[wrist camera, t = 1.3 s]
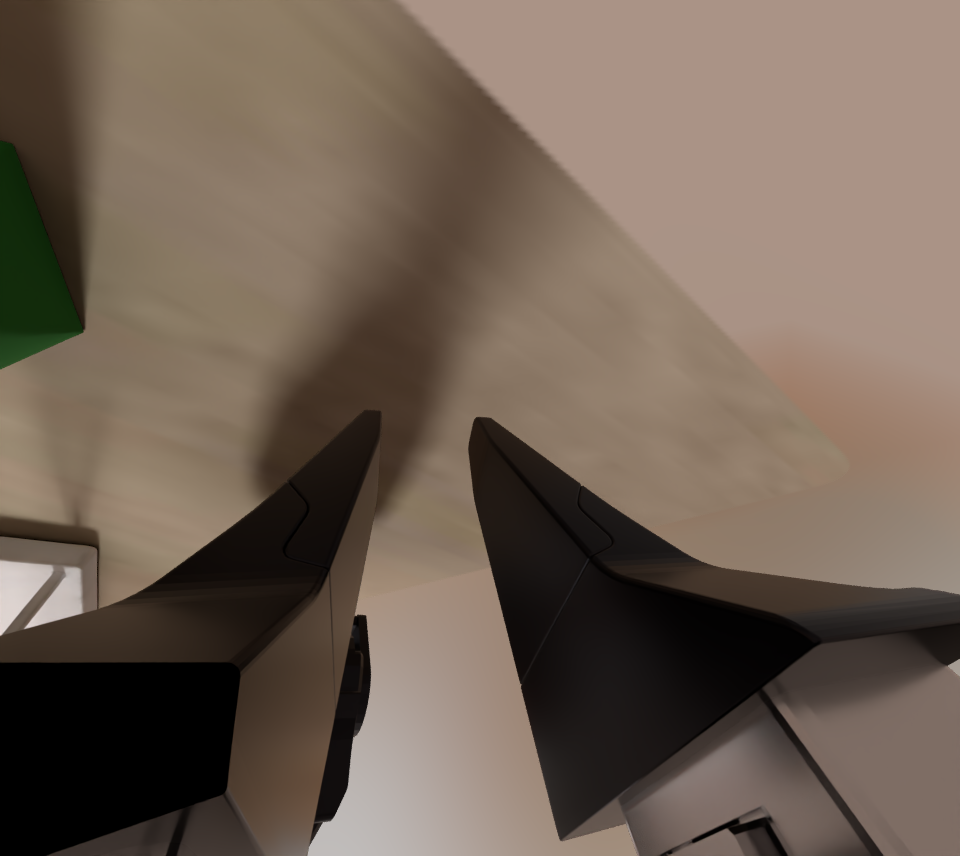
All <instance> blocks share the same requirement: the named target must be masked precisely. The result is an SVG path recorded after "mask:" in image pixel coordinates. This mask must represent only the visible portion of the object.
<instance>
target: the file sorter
mask: <svg viewBox="0 0 960 856" xmlns="http://www.w3.org/2000/svg"><path fill="white" fill-rule="evenodd" d="M96 609H97V549H96V548H94V547H91V546H85V545H75V544H65V543H56V542H47V541H37V540H29V539H20V538H11V537H1V536H0V635H4V634H8V633H11V632H15V631H19V630H23V629H26V628H30V627H34V626H37V625H41V624H45V623H48V622H52V621H56V620H60V619H63V618H67V617H71V616H74V615H78V614H82V613H85V612H89V611H93V610H96Z"/></svg>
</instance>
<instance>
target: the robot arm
mask: <svg viewBox="0 0 960 856" xmlns="http://www.w3.org/2000/svg"><path fill="white" fill-rule="evenodd" d="M381 428H382V412H381V411H376V410H364V411H363V412H362V413H361V414H359V415H358V416H357V417H356V418H355V419H354V420H353V421H352V422H351V423H350V424H349V425H347V426H346V427H345V428H344V429H343V430H342V431H341V432H340V433H339V434H338V435H336V436H335V437H334V438H333V439H332V440H331V441H330V442H329V443H328V444H327V445H326V446H324V447H323V448H322V449H321V450H320V451H319V452H318V453H317V454H316V455H315V456H313V457H312V458H311V459H310V460H309V461H308V462H307V463H306V464H305V465H304V466H303V467H301V468H300V469H299V470H298V471H297V472H296V473H295V474H294V475H293V476H292V477H290V478H289V479H288V480H287V482H285V483H284V484H283V485H281V486H280V487H279V488H278V489H277V490H276V491H275V492H274V493H273V494H271V495H270V496H269V497H268V498H267V499H266V500H264V501H263V502H262V503H261V504H260V505H259V506H257V507H256V508H255V509H254V510H253V511H251V512H250V513H249V514H247V515H246V516H245V517H243V518H242V519H241V520H240V521H238V522H237V523H236V524H234V525H233V526H232V527H230V528H229V529H228V530H226V531H225V532H223V533H222V534H221V535H219V536H218V537H217V538H215V539H214V540H213V541H211V542H210V543H208V544H207V545H206V546H204V547H203V548H202V549H200V550H199V551H197V552H196V553H195V554H193V555H192V556H191V557H189V558H188V559H186V560H185V561H184V562H182V563H181V564H180V565H178V566H177V567H176V568H174V569H173V570H171V571H170V572H169V573H167V574H166V575H165V576H163V577H162V578H160V579H159V580H157V581H156V582H154V583H153V584H151V585H150V586H148V587H146V588H145V589H143V590H141V591H139V592H138V593H136V594H134V595H132V596H130V597H128V598H126V599H124V600H122V601H119V602H116V603H114V604H111V605H109V606H106V607H103V608H100V609H96V610H93V611H89V612H85V613H82V614H78V615H74V616H71V617H67V618H63V619H60V620H56V621H52V622H48V623H45V624H41V625H37V626H34V627H30V628H26V629H23V630H19V631H15V632H11V633H8V634H4V635H0V856H307V854H308V849H309V846H310V844H311V842H312V840H313V839H314V837H315V835H316V833H317V832H318V830H319V828H320V826H321V825H322V823H323V822H328V821H331V820H332V819H333V817H334V816H335V814H336V812H337V810H338V808H339V806H340V803H341V801H342V799H343V797H344V795H345V793H346V790H347V787H348V778H349V768H350V759H351V749H352V742H353V737H355V736H356V735H357V734H358V732H359V731H360V728H361V726H362V723H363V720H364V717H365V714H366V709H367V705H368V699H369V693H370V681H371V666H370V655H369V642H368V631H367V619H366V615H357V616H355V610H356V605H357V601H358V595H359V590H360V585H361V580H362V575H363V570H364V565H365V560H366V555H367V550H368V545H369V540H370V535H371V530H372V524H373V519H374V514H375V509H376V503H377V496H378V481H379V464H380V447H381ZM468 452H469V460H470V469H471V477H472V486H473V494H474V501H475V505H476V510H477V514H478V518H479V522H480V526H481V529H482V533H483V537H484V541H485V545H486V549H487V553H488V557H489V561H490V565H491V569H492V573H493V577H494V581H495V585H496V589H497V593H498V597H499V601H500V605H501V609H502V613H503V617H504V621H505V625H506V629H507V633H508V637H509V641H510V645H511V649H512V653H513V657H514V661H515V665H516V669H517V673H518V677H519V681H520V684H522V685H521V689H522V693H523V698H524V702H525V705H526V710H527V714H528V717H529V722H530V725H531V730H532V734H533V737H534V742H535V746H536V749H537V753H538V757H539V761H540V765H541V769H542V773H543V777H544V781H545V785H546V789H547V793H548V797H549V801H550V805H551V809H552V813H553V817H554V821H555V825H556V829H557V832H558V836H559V839H560V841H565V840H568V839H572V838H576V837H579V836H583V835H586V834H590V833H594V832H598V831H601V830H605V829H609V828H612V827H616V826H619V825H623V824H626V825H627V828H628V831H629V833H630V836H631V839H632V842H633V844H634V847H635V850H636V853H637V856H960V677H959V676H958V675H957V674H956V673H955V672H953V671H952V670H951V669H950V668H949V667H948V665H949V664H951V663H953V662H955V661H957V660H958V659H960V595H959V594H954V593H948V592H944V591H938V590H930V589H925V588H904V589H903V588H902V589H885V588H872V587H861V586H852V585H844V584H836V583H829V582H822V581H814V580H806V579H799V578H791V577H784V576H777V575H769V574H762V573H754V572H747V571H739V570H731V569H725V568H721V567H716V566H713V565H710V564H707V563H704V562H701V561H699V560H697V559H695V558H693V557H691V556H689V555H688V554H686V553H684V552H682V551H681V550H679V549H678V548H676V547H675V546H673V545H671V544H670V543H668V542H667V541H665V540H663V539H662V538H660V537H659V536H657V535H656V534H654V533H652V532H651V531H649V530H648V529H646V528H645V527H643V526H641V525H640V524H638V523H637V522H635V521H633V520H632V519H630V518H629V517H627V516H626V515H624V514H623V513H621V512H620V511H618V510H617V509H615V508H614V507H612V506H611V505H609V504H608V503H606V502H605V501H604V500H602V499H601V498H599V497H598V496H596V495H595V494H594V493H592V492H591V491H590V490H588V489H587V488H586V487H584V486H581V484H580V483H579V482H577V481H576V480H575V479H573V478H572V477H570V476H569V475H568V474H566V473H565V472H564V471H562V470H561V469H560V468H558V467H557V466H556V465H554V464H553V463H551V462H550V461H549V460H547V459H546V458H545V457H543V456H542V455H541V454H539V453H538V452H536V451H535V450H534V449H532V448H531V447H530V446H528V445H527V444H526V443H524V442H523V441H521V440H520V439H519V438H517V437H516V436H515V435H513V434H512V433H511V432H509V431H508V430H507V429H505V428H504V427H502V426H501V425H500V424H498V423H497V422H496V421H494V420H493V419H491V418H487V417H476V418H475V419H474V422H473V426H472V431H471V435H470V440H469V446H468Z"/></svg>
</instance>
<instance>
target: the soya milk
mask: <svg viewBox="0 0 960 856" xmlns="http://www.w3.org/2000/svg"><path fill="white" fill-rule="evenodd" d="M83 332H84V331H83V328H82V326H81V323H80V320H79V318H78V315H77V312H76V310H75V307H74V304H73V302H72V299H71V297H70V294H69V291H68V289H67V286H66V283H65V281H64V278H63V275H62V273H61V270H60V267H59V265H58V262H57V259H56V257H55V254H54V251H53V249H52V246H51V244H50V241H49V238H48V236H47V233H46V230H45V228H44V225H43V222H42V220H41V217H40V214H39V212H38V209H37V206H36V204H35V201H34V198H33V196H32V193H31V191H30V188H29V185H28V183H27V180H26V177H25V175H24V172H23V169H22V167H21V164H20V161H19V159H18V156H17V153H16V151H15V148H14V146H13V144H11V143H7V142H3V141H0V369H2V368H5V367H7V366H9V365H11V364H13V363H16V362H18V361H20V360H22V359H24V358H27V357H29V356H31V355H33V354H36V353H38V352H40V351H42V350H45V349H47V348H49V347H51V346H54V345H56V344H58V343H60V342H63V341H65V340H67V339H69V338H72V337H74V336H76V335H79V334H81V333H83Z"/></svg>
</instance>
